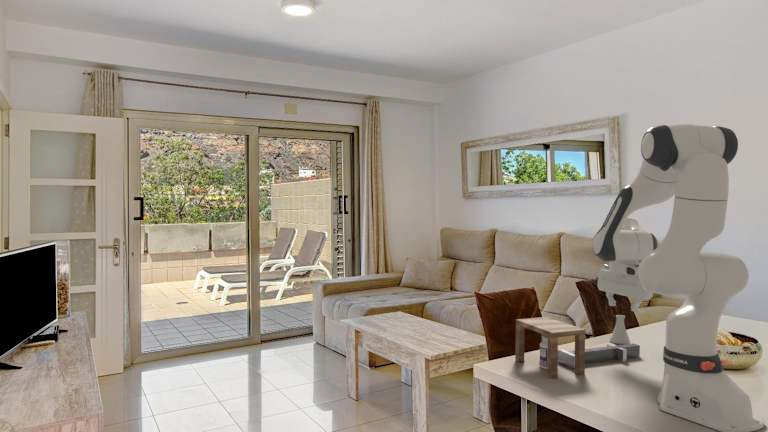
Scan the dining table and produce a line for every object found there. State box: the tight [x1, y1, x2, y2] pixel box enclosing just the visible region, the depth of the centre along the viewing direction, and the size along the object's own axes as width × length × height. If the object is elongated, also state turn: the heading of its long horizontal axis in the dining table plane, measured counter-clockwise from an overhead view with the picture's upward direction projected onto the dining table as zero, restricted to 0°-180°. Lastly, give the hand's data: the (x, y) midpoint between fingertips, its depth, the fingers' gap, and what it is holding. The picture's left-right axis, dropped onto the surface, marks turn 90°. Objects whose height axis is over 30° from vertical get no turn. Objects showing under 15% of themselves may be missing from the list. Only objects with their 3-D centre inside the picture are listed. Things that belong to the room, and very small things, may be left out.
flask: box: [609, 314, 631, 345], centre depth 185 cm, size 7×7×10 cm
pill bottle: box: [539, 335, 559, 370], centre depth 156 cm, size 5×5×10 cm
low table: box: [514, 316, 586, 380], centre depth 156 cm, size 18×12×14 cm, turn 20°
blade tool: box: [558, 343, 641, 370], centre depth 163 cm, size 8×30×4 cm, turn 110°
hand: (623, 308), depth 166 cm, fingers open, 8 cm apart
